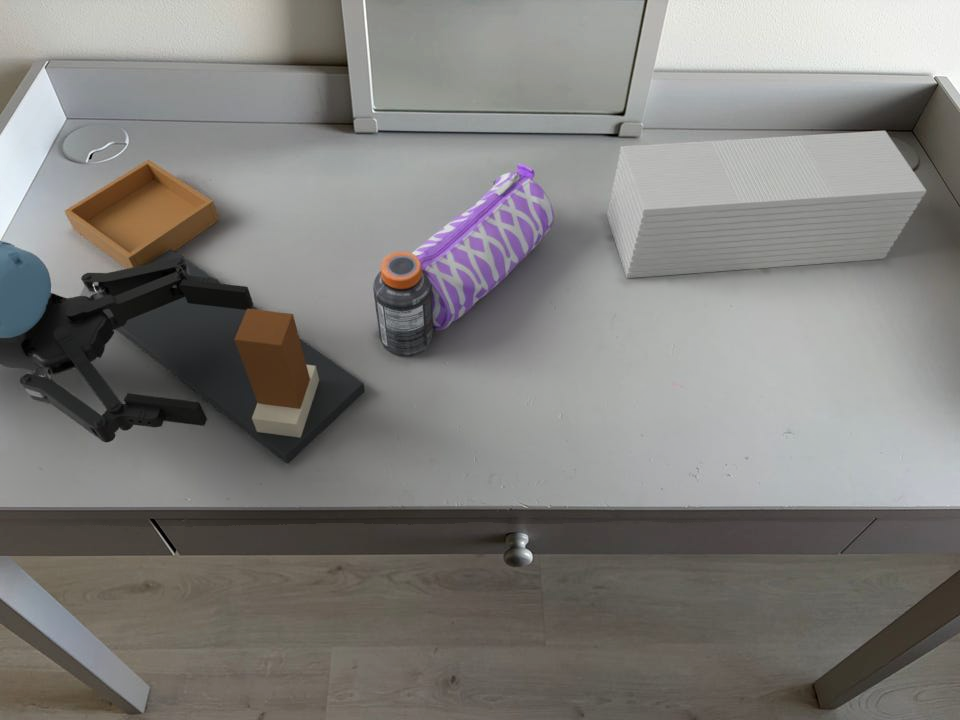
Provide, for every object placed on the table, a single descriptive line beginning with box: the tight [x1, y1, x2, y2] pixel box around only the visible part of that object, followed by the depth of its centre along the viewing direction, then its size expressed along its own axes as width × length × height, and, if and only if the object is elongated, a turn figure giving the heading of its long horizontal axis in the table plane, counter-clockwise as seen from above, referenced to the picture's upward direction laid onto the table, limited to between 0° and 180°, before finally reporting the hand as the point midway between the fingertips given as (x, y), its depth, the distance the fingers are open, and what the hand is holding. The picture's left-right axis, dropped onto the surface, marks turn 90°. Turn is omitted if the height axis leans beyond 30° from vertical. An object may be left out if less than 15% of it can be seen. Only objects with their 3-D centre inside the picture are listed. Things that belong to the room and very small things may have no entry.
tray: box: [63, 159, 220, 269], centre depth 94 cm, size 12×12×3 cm
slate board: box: [103, 249, 365, 464], centre depth 83 cm, size 11×30×2 cm, turn 52°
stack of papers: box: [606, 130, 927, 279], centre depth 92 cm, size 32×11×11 cm, turn 97°
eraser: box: [235, 308, 319, 438], centre depth 73 cm, size 7×4×12 cm, turn 172°
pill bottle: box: [372, 251, 435, 357], centre depth 81 cm, size 6×6×11 cm
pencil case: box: [411, 162, 555, 331], centre depth 87 cm, size 22×9×10 cm, turn 145°
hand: (227, 353), depth 72 cm, fingers open, 13 cm apart
